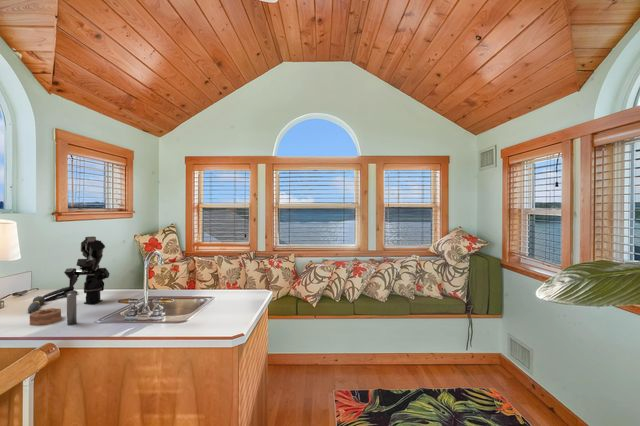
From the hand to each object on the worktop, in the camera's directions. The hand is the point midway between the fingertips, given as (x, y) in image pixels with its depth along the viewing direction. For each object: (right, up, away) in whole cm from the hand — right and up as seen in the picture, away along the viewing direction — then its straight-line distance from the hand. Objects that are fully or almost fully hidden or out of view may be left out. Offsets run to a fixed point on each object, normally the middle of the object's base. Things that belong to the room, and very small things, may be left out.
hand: (80, 288), depth 160 cm
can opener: (-34, -13, +30) cm, 47 cm away
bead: (-12, -14, -5) cm, 20 cm away
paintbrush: (-32, -14, +13) cm, 37 cm away
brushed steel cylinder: (+2, -14, -8) cm, 17 cm away
